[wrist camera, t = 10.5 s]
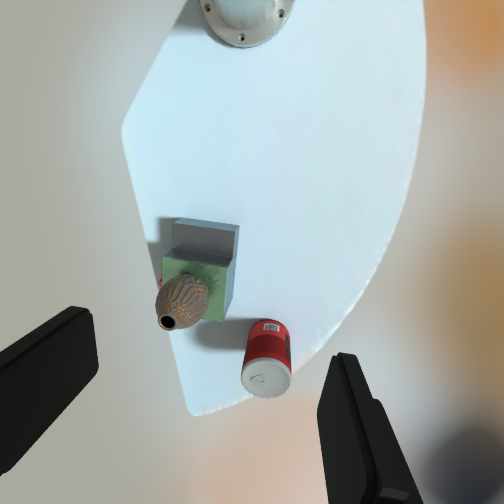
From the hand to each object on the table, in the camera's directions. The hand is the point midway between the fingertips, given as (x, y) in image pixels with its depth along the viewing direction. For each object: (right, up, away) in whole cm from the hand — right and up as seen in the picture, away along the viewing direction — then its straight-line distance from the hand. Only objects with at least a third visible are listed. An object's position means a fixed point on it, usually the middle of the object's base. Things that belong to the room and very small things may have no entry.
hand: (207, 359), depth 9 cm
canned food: (+5, -12, +39) cm, 41 cm away
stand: (-7, +3, +35) cm, 36 cm away
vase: (-7, -1, +29) cm, 30 cm away
